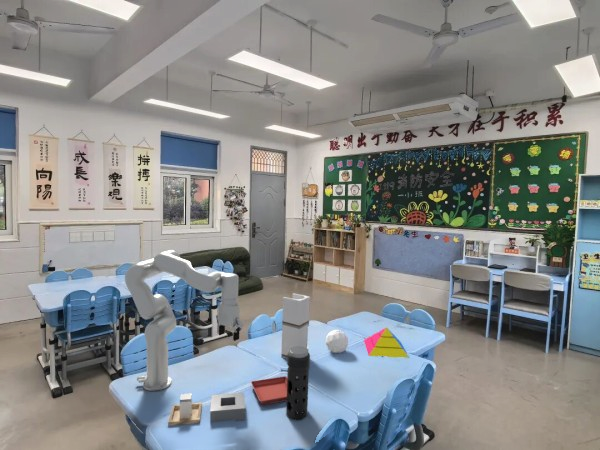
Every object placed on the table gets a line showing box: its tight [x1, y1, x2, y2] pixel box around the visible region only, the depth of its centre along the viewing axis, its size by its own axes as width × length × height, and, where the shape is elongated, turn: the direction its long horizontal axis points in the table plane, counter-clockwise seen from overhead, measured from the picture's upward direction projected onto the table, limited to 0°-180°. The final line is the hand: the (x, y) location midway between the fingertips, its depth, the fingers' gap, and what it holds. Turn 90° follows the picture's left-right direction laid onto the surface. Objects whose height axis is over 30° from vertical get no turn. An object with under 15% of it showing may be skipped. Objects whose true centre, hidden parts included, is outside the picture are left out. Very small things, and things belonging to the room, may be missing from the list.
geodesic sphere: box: [325, 329, 349, 354], centre depth 215 cm, size 14×14×14 cm
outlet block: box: [209, 392, 246, 423], centre depth 151 cm, size 14×12×5 cm
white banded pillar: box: [280, 292, 311, 360], centre depth 206 cm, size 11×11×35 cm
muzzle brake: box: [285, 346, 311, 421], centre depth 152 cm, size 10×28×10 cm
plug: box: [179, 392, 193, 419], centre depth 148 cm, size 4×4×8 cm
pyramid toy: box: [363, 327, 410, 358], centre depth 222 cm, size 25×25×14 cm
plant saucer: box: [250, 375, 292, 406], centre depth 168 cm, size 18×18×3 cm
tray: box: [167, 401, 203, 427], centre depth 148 cm, size 12×12×2 cm
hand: (228, 337), depth 166 cm, fingers open, 9 cm apart
